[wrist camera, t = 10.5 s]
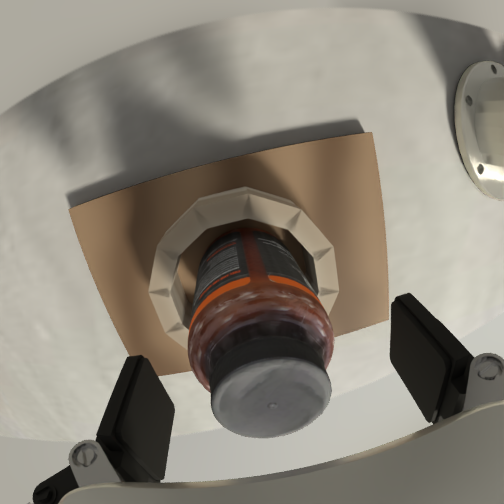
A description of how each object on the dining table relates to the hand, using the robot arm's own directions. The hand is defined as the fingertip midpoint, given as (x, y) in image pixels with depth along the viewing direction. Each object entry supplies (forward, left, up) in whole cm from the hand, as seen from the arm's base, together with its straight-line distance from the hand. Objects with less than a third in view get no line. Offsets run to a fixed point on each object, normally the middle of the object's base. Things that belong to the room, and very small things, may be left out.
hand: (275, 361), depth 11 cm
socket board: (+1, 0, -10) cm, 10 cm away
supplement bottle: (0, 0, -10) cm, 10 cm away
